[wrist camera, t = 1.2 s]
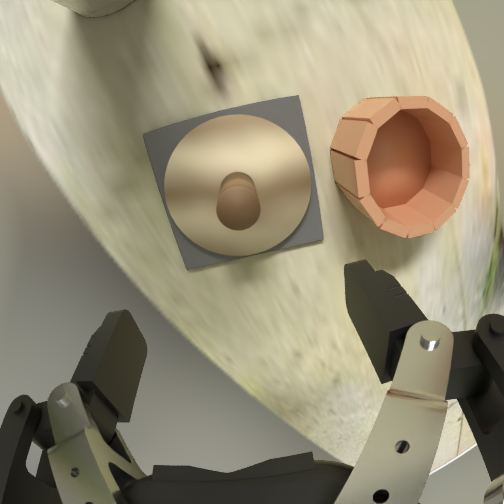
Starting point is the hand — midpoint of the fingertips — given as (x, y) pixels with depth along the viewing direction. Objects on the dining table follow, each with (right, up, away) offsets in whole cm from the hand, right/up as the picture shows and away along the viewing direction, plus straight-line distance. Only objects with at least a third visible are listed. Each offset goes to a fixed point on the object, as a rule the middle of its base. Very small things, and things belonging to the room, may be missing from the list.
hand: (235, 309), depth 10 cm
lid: (-1, +8, +16) cm, 18 cm away
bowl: (+14, +11, +15) cm, 24 cm away
